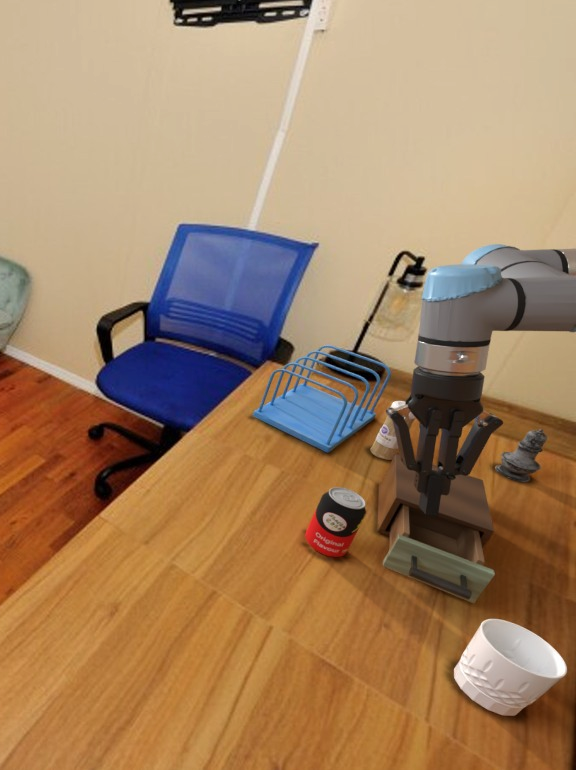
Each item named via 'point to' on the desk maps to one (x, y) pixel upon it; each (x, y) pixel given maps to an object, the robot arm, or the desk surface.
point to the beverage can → (336, 521)
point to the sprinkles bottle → (389, 436)
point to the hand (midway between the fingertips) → (428, 510)
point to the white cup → (507, 667)
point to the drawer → (437, 553)
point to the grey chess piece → (523, 457)
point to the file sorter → (319, 405)
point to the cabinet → (457, 506)
